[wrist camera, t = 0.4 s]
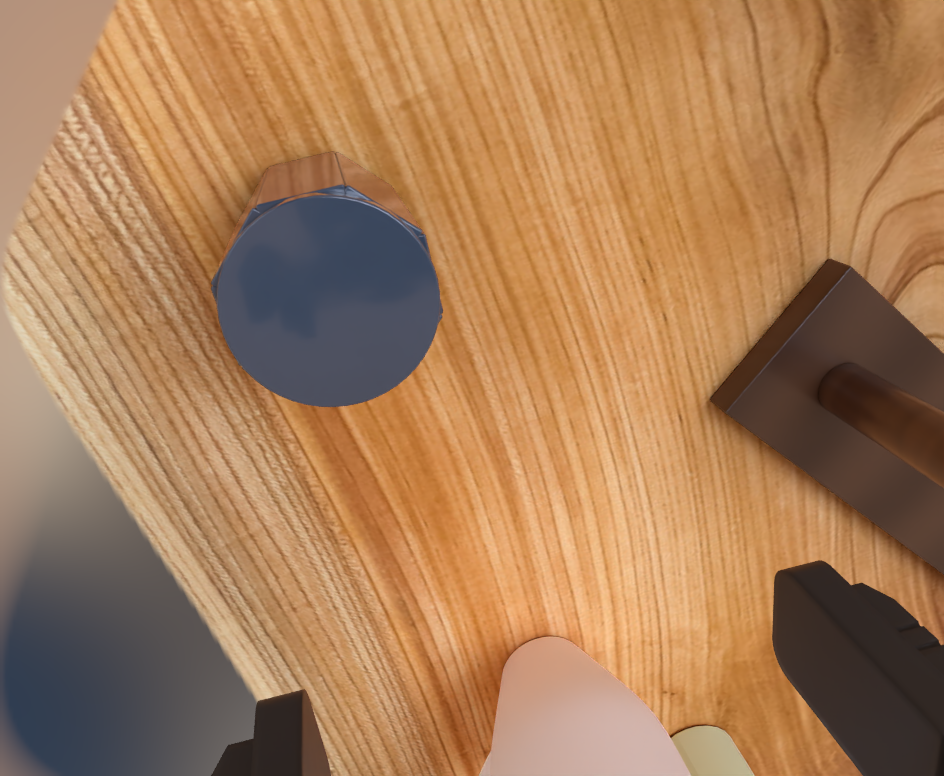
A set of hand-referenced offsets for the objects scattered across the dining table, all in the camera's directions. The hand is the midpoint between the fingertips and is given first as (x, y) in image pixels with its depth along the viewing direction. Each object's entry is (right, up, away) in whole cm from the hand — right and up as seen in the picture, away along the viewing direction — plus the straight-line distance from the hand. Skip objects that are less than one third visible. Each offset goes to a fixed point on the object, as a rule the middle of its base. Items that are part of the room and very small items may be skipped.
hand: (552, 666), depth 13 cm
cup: (-7, +10, +16) cm, 20 cm away
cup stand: (+20, +2, +26) cm, 33 cm away
